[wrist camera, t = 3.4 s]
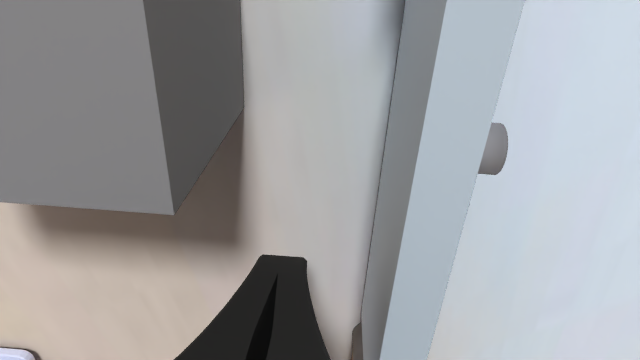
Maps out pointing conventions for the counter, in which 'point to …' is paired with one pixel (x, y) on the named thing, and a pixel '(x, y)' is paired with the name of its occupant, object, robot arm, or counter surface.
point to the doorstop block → (115, 99)
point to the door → (433, 163)
